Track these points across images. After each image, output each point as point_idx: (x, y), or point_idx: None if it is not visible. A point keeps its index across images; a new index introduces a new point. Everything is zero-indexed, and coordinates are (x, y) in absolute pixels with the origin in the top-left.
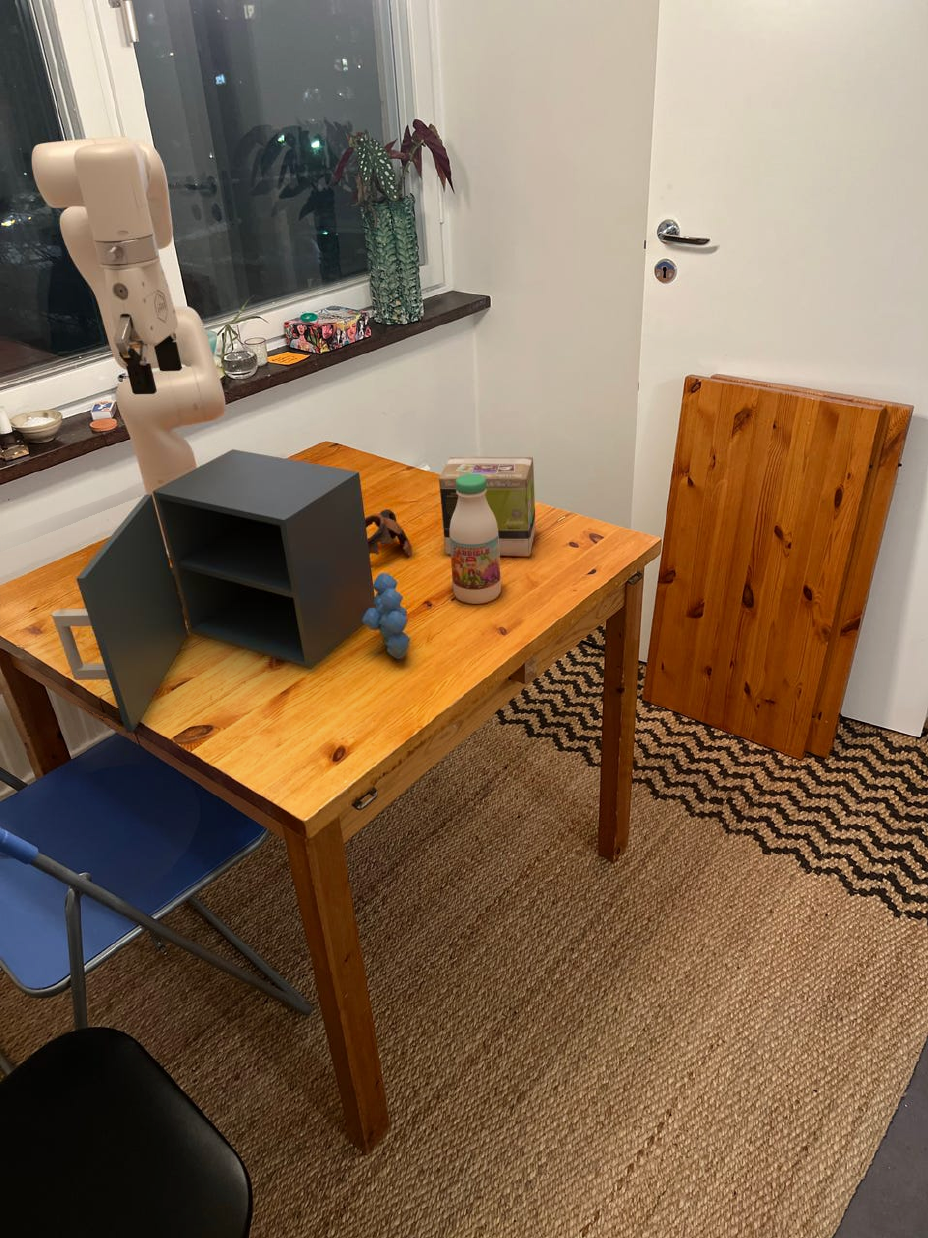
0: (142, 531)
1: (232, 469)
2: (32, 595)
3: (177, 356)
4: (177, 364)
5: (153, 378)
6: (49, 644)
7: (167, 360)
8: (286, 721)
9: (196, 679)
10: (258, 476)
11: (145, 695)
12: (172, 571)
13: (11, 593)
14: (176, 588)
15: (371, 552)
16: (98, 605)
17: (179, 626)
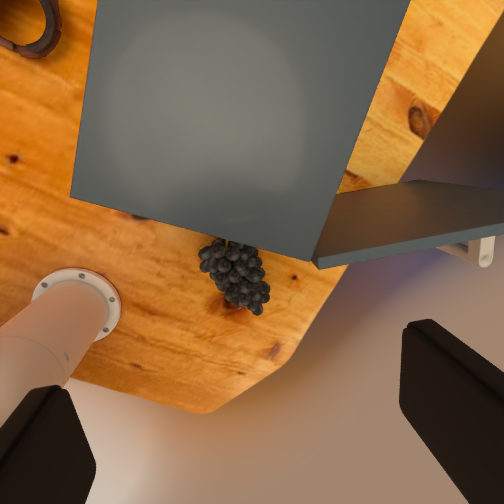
0: (373, 234)
1: (188, 141)
2: (218, 389)
3: (7, 457)
4: (49, 416)
5: (470, 361)
6: (294, 326)
7: (55, 486)
8: (405, 29)
9: None
10: (221, 49)
11: (388, 187)
12: (223, 250)
13: (218, 407)
14: None
15: (58, 6)
16: None
17: None
